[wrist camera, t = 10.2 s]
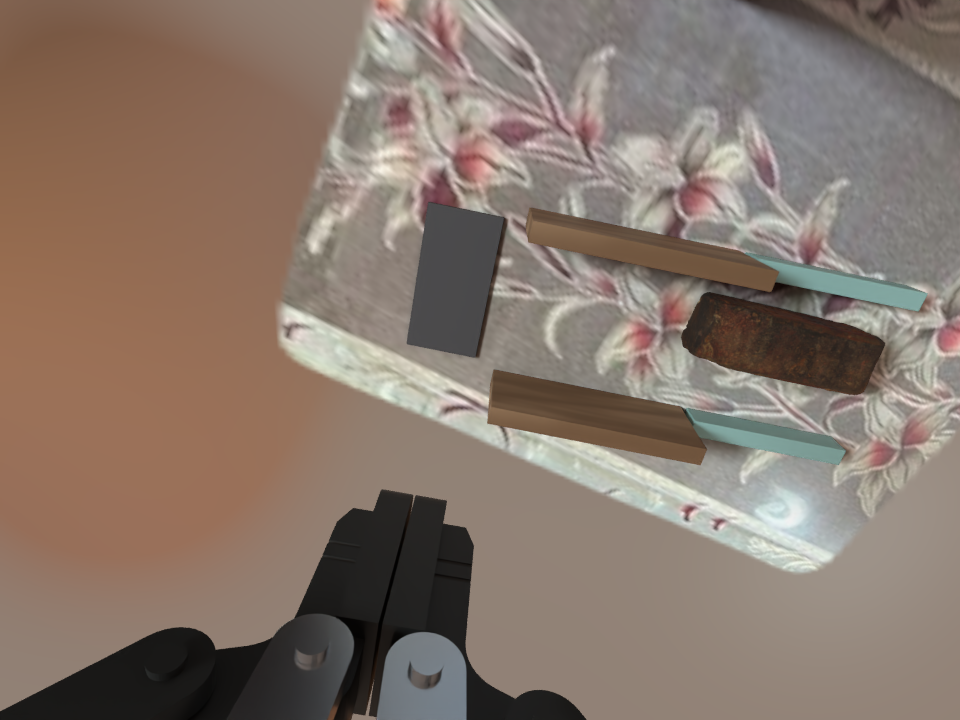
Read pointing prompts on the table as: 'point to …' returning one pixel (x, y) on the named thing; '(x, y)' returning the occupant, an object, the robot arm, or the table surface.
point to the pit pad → (453, 279)
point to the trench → (605, 412)
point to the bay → (789, 438)
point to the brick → (781, 344)
